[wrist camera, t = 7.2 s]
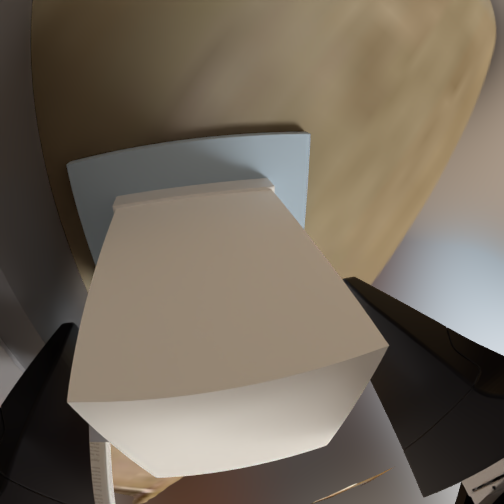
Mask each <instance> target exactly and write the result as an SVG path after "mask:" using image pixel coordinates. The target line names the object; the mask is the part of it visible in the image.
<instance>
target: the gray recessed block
mask: <svg viewBox="0 0 504 504" xmlns="http://www.w3.org/2000/svg"><path fill="white" fill-rule="evenodd" d="M31 13H32V0H0V407H1V404H2V403H3V401H4V400H5V398H6V397H7V396H8V394H9V393H10V391H11V390H12V388H13V387H14V385H15V384H16V383H17V381H18V380H19V378H20V377H21V376H22V374H23V373H24V371H25V370H26V369H27V367H28V366H29V365H30V363H31V362H32V361H33V359H34V358H35V357H36V355H37V354H38V353H39V352H40V350H41V349H42V348H43V346H44V345H45V344H46V343H47V341H48V340H49V339H50V338H51V336H52V335H53V334H54V333H55V332H56V330H57V329H58V328H59V327H60V325H61V324H63V323H69V322H74V323H75V324H76V325H77V326H78V328H80V324H81V319H82V315H83V311H84V307H85V303H86V299H87V296H88V292H87V290H86V288H85V285H84V283H83V281H82V278H81V276H80V273H79V271H78V268H77V266H76V263H75V261H74V258H73V256H72V253H71V250H70V248H69V245H68V242H67V239H66V236H65V233H64V230H63V227H62V224H61V221H60V218H59V215H58V212H57V208H56V205H55V202H54V198H53V194H52V191H51V187H50V183H49V179H48V175H47V171H46V167H45V162H44V158H43V153H42V148H41V143H40V137H39V132H38V126H37V119H36V112H35V104H34V95H33V85H32V71H31ZM89 441H90V442H109V441H108V440H106V439H105V438H104V437H103V436H102V435H101V434H99V433H98V432H97V431H96V430H95V429H94V428H93V427H92V426H91V425H90V424H89Z"/></svg>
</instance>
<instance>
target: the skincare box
mask: <svg viewBox="0 0 504 504" xmlns="http://www.w3.org/2000/svg"><path fill="white" fill-rule="evenodd" d="M90 460H91V473H92V483H93V492H94V500H95V504H115V498H114V489H113V478H112V466H111V447H110V442H90Z"/></svg>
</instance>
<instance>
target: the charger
mask: <svg viewBox="0 0 504 504" xmlns="http://www.w3.org/2000/svg"><path fill="white" fill-rule="evenodd" d="M112 207H113V212H114V215H113V218H112V221H111V223H110V226H109V229H108V232H107V234H106V237H105V240H104V243H103V246H102V249H101V252H100V255H99V258H98V261H97V265H96V268H95V271H94V274H93V278H92V281H91V285H90V288H89V292H88V296H87V299H86V303H85V307H84V311H83V315H82V319H81V324H80V328H79V333H78V337H77V342H76V347H75V352H74V358H73V363H72V369H71V375H70V382H69V389H68V397H67V403H68V404H69V405H70V406H71V407H72V408H73V409H74V410H75V411H76V412H77V413H78V414H79V415H80V416H81V417H82V418H83V419H84V420H85V421H86V422H87V423H89V424H90V425H91V426H92V427H93V428H94V429H95V430H96V431H97V432H98V433H99V434H101V435H102V436H103V437H104V438H105V439H106V440H108V441H109V442H110V443H111V444H112V445H113V446H115V447H116V448H117V449H118V450H120V451H121V452H122V453H123V454H125V455H126V456H127V457H128V458H130V459H131V460H132V461H134V462H135V463H136V464H138V465H139V466H140V467H142V468H143V469H145V470H146V471H147V472H149V473H150V474H152V475H153V476H155V477H156V478H164V477H179V476H189V475H199V474H207V473H214V472H221V471H227V470H233V469H239V468H244V467H249V466H254V465H259V464H263V463H267V462H271V461H275V460H279V459H283V458H287V457H291V456H294V455H297V454H301V453H304V452H308V451H311V450H314V449H317V448H320V447H323V446H326V445H327V444H328V443H329V442H330V440H331V439H332V438H333V436H334V435H335V433H336V432H337V431H338V429H339V428H340V426H341V425H342V423H343V422H344V420H345V419H346V417H347V416H348V414H349V413H350V411H351V410H352V408H353V407H354V405H355V404H356V402H357V400H358V399H359V397H360V396H361V394H362V392H363V391H364V389H365V388H366V386H367V384H368V383H369V381H370V379H371V377H372V376H373V374H374V372H375V370H376V369H377V367H378V365H379V363H380V361H381V360H382V358H383V356H384V354H385V352H386V350H387V348H388V346H389V345H388V343H387V342H386V340H385V339H384V337H383V336H382V334H381V333H380V331H379V330H378V329H377V327H376V326H375V324H374V323H373V321H372V320H371V319H370V317H369V316H368V314H367V313H366V312H365V310H364V309H363V307H362V306H361V305H360V303H359V302H358V300H357V299H356V298H355V296H354V295H353V293H352V292H351V291H350V289H349V288H348V287H347V285H346V284H345V283H344V281H343V280H342V278H341V277H340V276H339V274H338V273H337V272H336V270H335V269H334V268H333V266H332V265H331V264H330V263H329V261H328V260H327V259H326V257H325V256H324V255H323V253H322V252H321V251H320V249H319V248H318V247H317V246H316V244H315V243H314V242H313V240H312V239H311V238H310V237H309V235H308V234H307V233H306V231H305V230H304V229H303V228H302V226H301V225H300V224H299V223H298V221H297V220H296V219H295V218H294V216H293V215H292V214H291V213H290V211H289V210H288V209H287V208H286V206H285V205H284V204H283V203H282V202H281V200H280V199H279V198H278V197H277V195H276V194H275V186H274V185H273V184H272V183H271V181H270V180H269V179H268V178H260V179H247V180H236V181H226V182H216V183H207V184H198V185H190V186H182V187H174V188H167V189H160V190H153V191H146V192H140V193H133V194H127V195H121V196H117V197H116V199H115V201H114V204H113V206H112Z"/></svg>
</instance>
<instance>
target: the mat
mask: <svg viewBox="0 0 504 504" xmlns="http://www.w3.org/2000/svg"><path fill="white" fill-rule="evenodd" d="M309 153H310V133H307V132H269V133H250V134H235V135H223V136H212V137H203V138H194V139H186V140H178V141H171V142H164V143H157V144H151V145H145V146H139V147H134V148H128V149H123V150H118V151H113V152H108V153H104V154H99V155H95V156H90V157H86V158H82V159H78V160H74V161H70V162H69V163H68V164H67V165H66V166H67V170H68V175H69V179H70V183H71V187H72V191H73V195H74V199H75V203H76V206H77V210H78V213H79V217H80V220H81V224H82V227H83V230H84V233H85V236H86V240H87V243H88V246H89V249H90V251H91V254H92V257H93V260H94V263H95V266H96V265H97V261H98V258H99V255H100V252H101V249H102V246H103V243H104V240H105V237H106V234H107V232H108V229H109V226H110V223H111V221H112V218H113V215H114V212H113V207H112V206H113V204H114V201H115V199H116V197H117V196H121V195H127V194H133V193H140V192H146V191H153V190H160V189H167V188H174V187H182V186H190V185H198V184H207V183H216V182H226V181H236V180H247V179H260V178H268V179H269V180H270V181H271V183H272V184H273V185H274V186H275V194H276V195H277V197H278V198H279V199H280V200H281V202H282V203H283V204H284V205H285V206H286V208H287V209H288V210H289V211H290V213H291V214H292V215H293V216H294V218H295V219H296V220H297V221H298V223H299V224H300V225H301V226H302V228H303V229H304V225H305V213H306V200H307V186H308V170H309Z"/></svg>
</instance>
